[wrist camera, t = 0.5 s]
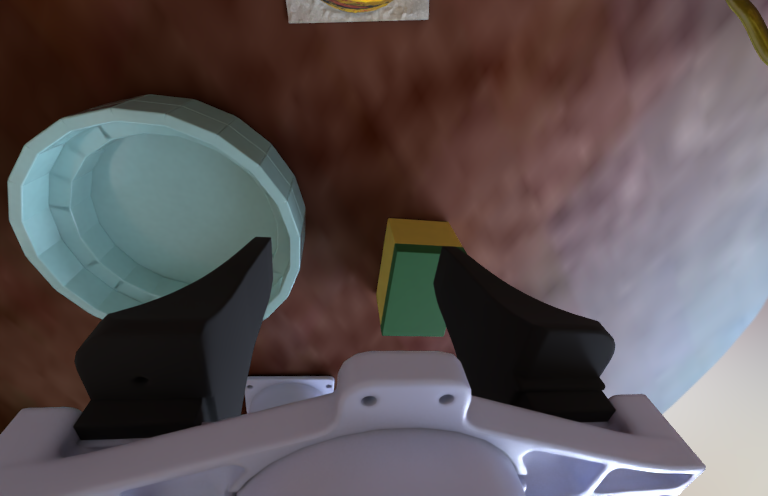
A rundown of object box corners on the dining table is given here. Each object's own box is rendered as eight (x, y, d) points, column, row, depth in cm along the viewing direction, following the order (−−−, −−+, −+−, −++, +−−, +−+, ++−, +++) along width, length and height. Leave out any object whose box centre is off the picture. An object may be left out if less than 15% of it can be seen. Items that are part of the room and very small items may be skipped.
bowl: (304, 298, 28) (299, 341, 24) (103, 292, 26) (62, 338, 22) (308, 109, 21) (301, 128, 17) (28, 77, 18) (-53, 90, 14)
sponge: (429, 296, 29) (443, 336, 25) (375, 294, 28) (381, 335, 25) (448, 221, 26) (468, 255, 22) (387, 217, 25) (396, 251, 21)
